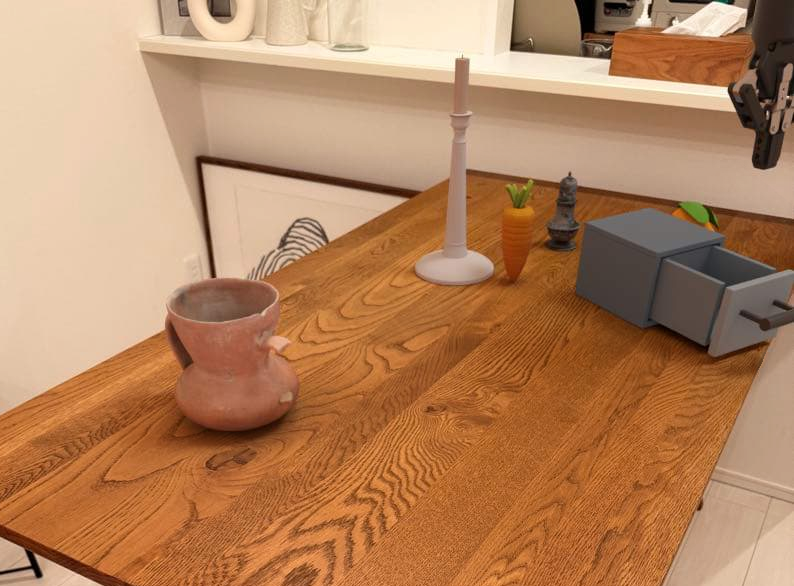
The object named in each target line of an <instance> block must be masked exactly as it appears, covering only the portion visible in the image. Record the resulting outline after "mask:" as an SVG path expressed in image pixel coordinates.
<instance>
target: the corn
mask: <svg viewBox="0 0 794 586" xmlns="http://www.w3.org/2000/svg"><path fill="white" fill-rule="evenodd" d="M671 215H672V216H674V217H677V218H680V219H682V220H685V221H688V222H690V223H693V224H696V225H698V226H701V227H704V228H707V229H709V230H712V231H715V229H714V227H715V228H716V230H717V232H719V231H720V229H719V228H720V227H719V221H718V218H717V216H716V214H715V213H714V212H713V210H712V209H711V208H710V207H709V206H708V205H706V204H702V203H700V202H698V201H691V200H685V201H683V202H679V203H678V204H677V209H675V210H674V211H673V212H672V213H671ZM712 225H713V226H714V227H713V226H712Z"/></svg>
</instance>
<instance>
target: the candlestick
mask: <svg viewBox="0 0 794 586" xmlns="http://www.w3.org/2000/svg"><path fill="white" fill-rule="evenodd" d="M454 59H455V61H454V84H453V85H454V86H453V89H454V90H453V110H450V111H448V112H447V114H448V115H449V117H450V119H451V122H450V127H451V128H452V129H453V139H452V140H451V143H452V144H451V157H450V167H449V168H450V169H449V170H450V171H449V180H448V181H449V182H448V193H447V194H448V195H447V205H446V206H447V207H446V219H445V220H446V221H445V230H444V240H443V242H444V243H443V249H439V250H434V251H432V252H428V253H427V254H425V255H423V256H422V257H421V258H420V259H418V260H417V261H416V262H415V265H414V272H415V275H416V276H417V277H418V278H420V279H422V280H424V281H426V282H428V283H432V284H435V285H441V286H467V285H473V284H478V283H481V282H484V281H486V280H488V279H490V278H491V277H492V276H493V275H494V272H495V271H494V270H495V266H494V264H493V262H492V261H491V260H490V259H489V258H488V257H487V256H485V255H484V254H481V253H480V252H477V251H475V250H471V249H468V247H467V139H466V133H467V128H468V127H469V126H470V121H469V119H470V117H471V116H472V115H473V114H474V112H473V111H470V110H469V109H468V106H469V84H470V62H471V61H470V60H471V58H470V57H464V54H462V55H461V57H456V58H454Z"/></svg>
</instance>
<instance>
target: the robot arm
mask: <svg viewBox="0 0 794 586" xmlns="http://www.w3.org/2000/svg"><path fill="white" fill-rule="evenodd" d="M750 39H751V41H753V43H754V44H753V45H754V49H753V52H752V55H751V57H750V59H749V62H748V65H747V72H746V73H745V74H744V75H743V76H742V78H741V79H740V80H738V81H732V82H730V83H729V84H728V86H727V95H728V97H729V99H730V101H731V104H732V105H733V108H734V110H735V113H736V114H737V116H738V119H739V121H740V123H741V125H742V127H743V128H744V129H749V130H752V131H754V134H755V138H754V144H753V150H752V154H751V164H752V167H753V168H754V169H756V170H757V169H758V170H762V171H766V170H770V169H773V168H776V167H777V165H778V162H779V160H780V158H781V153H782V150H783V149H782V148H783V144H784V139H785V134H786V132H788V130H789V129H790V128H791V125H793V124H794V0H756V2H755V8H754V14H753V20H752V25H751V32H750Z"/></svg>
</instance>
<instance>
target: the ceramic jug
mask: <svg viewBox="0 0 794 586" xmlns="http://www.w3.org/2000/svg"><path fill="white" fill-rule="evenodd" d="M165 306H166V311H167V315H166V317H165V321H164V333H165V337H166V341H167V343H168V346H169V348H170V350H171V352H172V354H173V355H174V357H175V359H176V361H177V362H178V364H179V366H180V368H181V369H182V372H181V374H180V375H179V376H178V378H177V380H176V383H175V385H174V390H173V391H174V392H173V397H174V401H175V403H176V405H177V407H178V409H179V411H180V412H181V413H182V415H184V417H185V418H187V419H188V420H190V421H191V422H193V423H194V424H195V425H198V426H201V427H204V428H205V429H210V430H214V431H222V432H243V431H249V430H253V429H259V428H262V427H264V426H266V425H269V424H271V423H274V422H275V421H277V420H279V419H280V418H282V417H283V416H284V415H286V414H287V413H288V412H289V411H290V410H291V409H292V408H293V407H294V405H295V403H296V401H297V399H298V396H299V393H300V379H299V376H298V373H297V370H295V368H294V367H293V366H292V365H291V364H290V363H289V362H287V360H285V359H283V358H282V357H280V356H278V355H283V354H284V352H285V351H286V349H287V348H288V347H290V346H291V345H292V342H291V341H290V340H289V339H288V338H287V337H284V336H281V335H275V330H276V328H277V326H278V323H279V320H280V319H279V318H280V311H281V297H280V292H279V291H278V289H277V288H276V287H275V286H274V285H272V284H271V283H268V282H266V281H264V280H258V279H251V278H240V277H214V278H212V277H211V278H203V279H200V280H195V281H194V282H188V283H186V284H182V285H181V286H179V287H177V288H176V289H175V290H174V291H173V292H171V293H170V294H169V295H168V297H167V298H166V305H165ZM271 350H273V351H274V352H276V354H274V353H271Z"/></svg>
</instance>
